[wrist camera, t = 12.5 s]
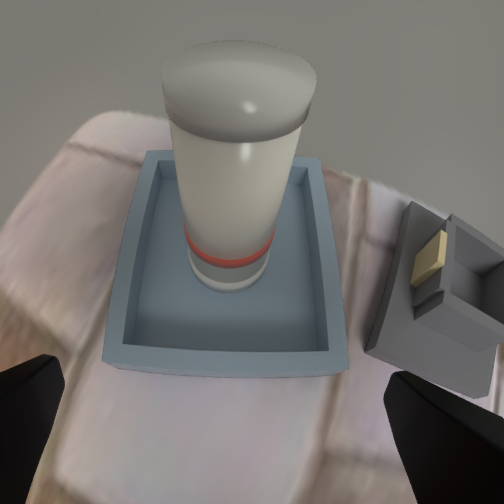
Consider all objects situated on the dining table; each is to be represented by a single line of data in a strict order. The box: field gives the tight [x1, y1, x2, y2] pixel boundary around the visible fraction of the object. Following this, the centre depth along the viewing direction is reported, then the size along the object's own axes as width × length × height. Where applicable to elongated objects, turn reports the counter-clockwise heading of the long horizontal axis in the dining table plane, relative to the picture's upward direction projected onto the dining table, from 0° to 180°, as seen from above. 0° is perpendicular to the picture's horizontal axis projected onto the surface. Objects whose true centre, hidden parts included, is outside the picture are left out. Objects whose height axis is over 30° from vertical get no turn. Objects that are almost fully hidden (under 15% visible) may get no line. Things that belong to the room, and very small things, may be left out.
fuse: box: [161, 40, 317, 293], centre depth 13 cm, size 5×5×12 cm
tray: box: [102, 150, 349, 378], centre depth 18 cm, size 14×12×2 cm
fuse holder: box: [365, 201, 504, 399], centre depth 17 cm, size 12×10×5 cm
